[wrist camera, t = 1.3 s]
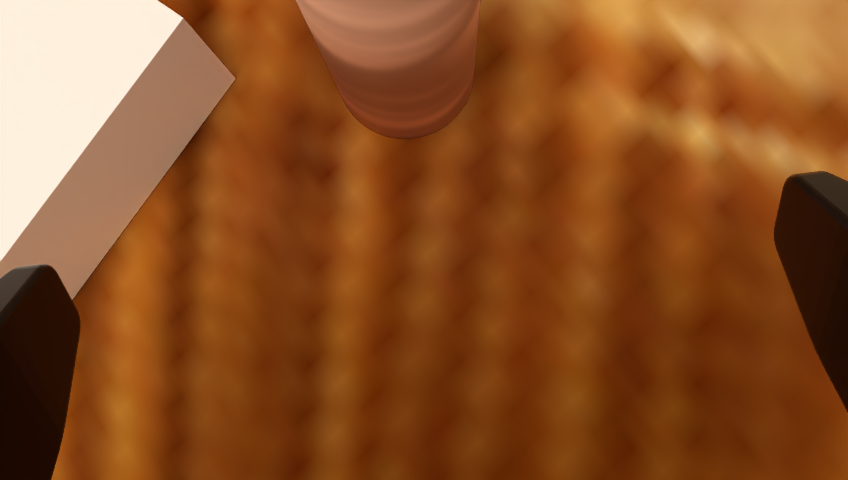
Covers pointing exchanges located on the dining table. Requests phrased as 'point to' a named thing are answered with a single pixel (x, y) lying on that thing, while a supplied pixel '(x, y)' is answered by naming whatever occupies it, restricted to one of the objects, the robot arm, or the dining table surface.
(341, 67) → the terracotta peg
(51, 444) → the robot arm
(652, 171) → the dining table surface
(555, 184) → the dining table surface
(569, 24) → the dining table surface
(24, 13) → the white flat square block
